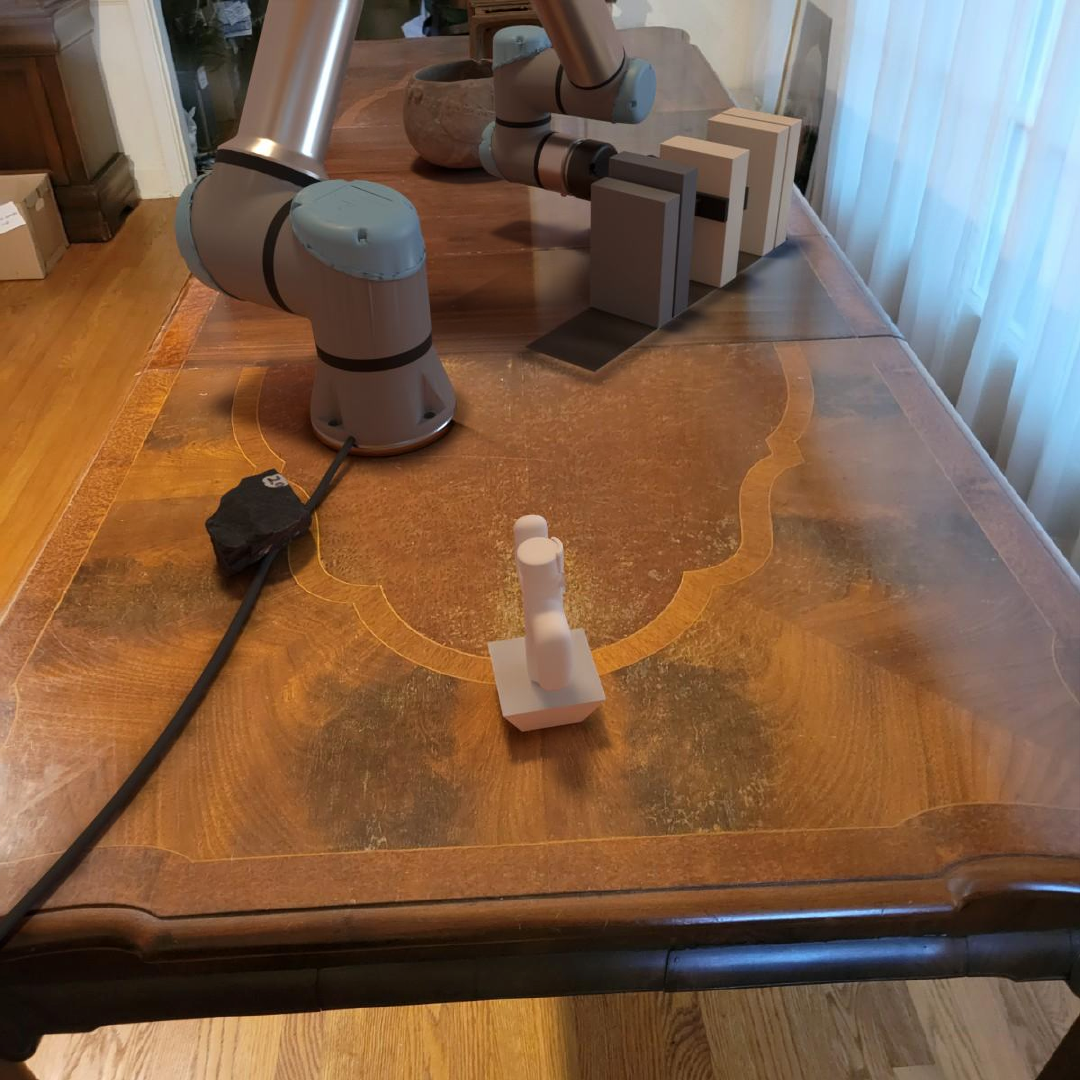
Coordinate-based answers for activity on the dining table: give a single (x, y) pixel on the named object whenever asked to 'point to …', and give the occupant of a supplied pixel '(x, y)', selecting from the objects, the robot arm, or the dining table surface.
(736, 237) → the white book
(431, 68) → the clay pot
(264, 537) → the mineral
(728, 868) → the dining table surface
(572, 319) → the black base plate
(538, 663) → the figurine
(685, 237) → the grey books
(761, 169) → the white books
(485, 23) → the ornamental box
